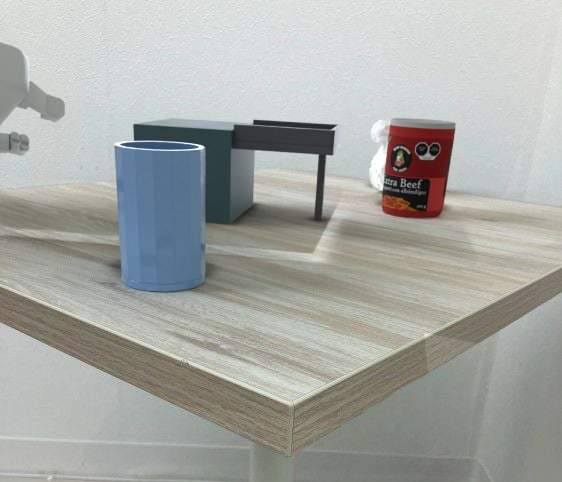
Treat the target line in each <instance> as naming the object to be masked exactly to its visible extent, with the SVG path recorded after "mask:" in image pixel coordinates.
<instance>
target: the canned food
mask: <svg viewBox="0 0 562 482" xmlns="http://www.w3.org/2000/svg"><path fill="white" fill-rule="evenodd" d="M390 119H391V123H390V128H389V136H388V145H387V154H386V164H385V173H384V182H383V191H381V200H380V201H381V202H380V203H381V204H380V205H381V210H382V212H384V214H387V215H390V216H394V217H400V218H407V219H409V218H410V219H432V218H433V219H434V218H437V217H439V216H441V214H442V212H443V210H444V207H445V198H446V193H447V186H448V182H449V181H448V180H449V173H450V167H451V161H452V155H453V149H454V141H455V133H456V122H454V121H449V120H442V119H441V120H440V119H428V118H427V119H426V118H409V117H407V118H406V117H404V118H402V117H401V118H400V117H395V118H390Z"/></svg>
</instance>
